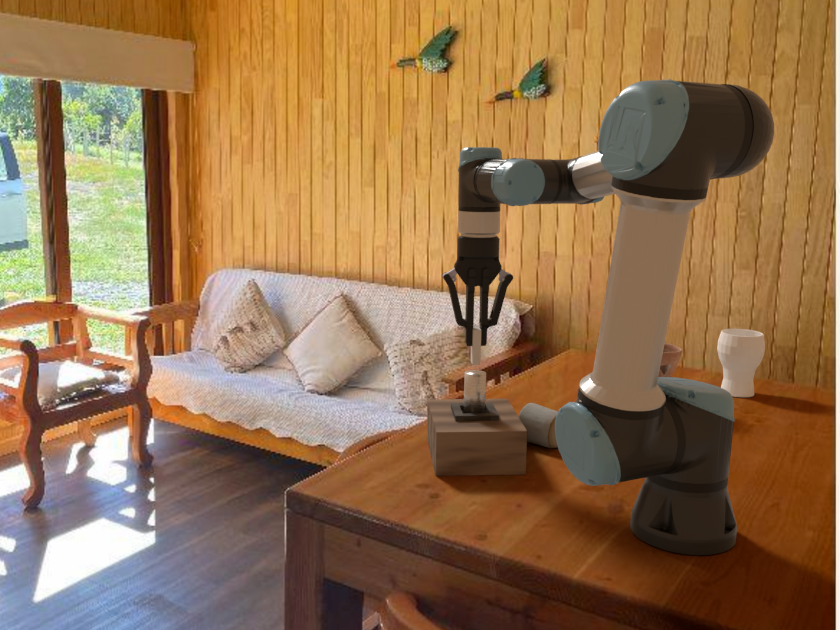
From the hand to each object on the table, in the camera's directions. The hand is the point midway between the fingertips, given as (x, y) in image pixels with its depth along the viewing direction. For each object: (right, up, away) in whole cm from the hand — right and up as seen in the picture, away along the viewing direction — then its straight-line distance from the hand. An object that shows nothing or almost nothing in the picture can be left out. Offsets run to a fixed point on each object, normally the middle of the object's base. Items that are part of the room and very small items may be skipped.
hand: (475, 362), depth 151 cm
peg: (0, -10, +2) cm, 10 cm away
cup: (+67, -10, +47) cm, 82 cm away
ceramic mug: (+15, -17, +11) cm, 25 cm away
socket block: (0, -18, +3) cm, 18 cm away
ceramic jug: (+42, -12, +36) cm, 57 cm away
